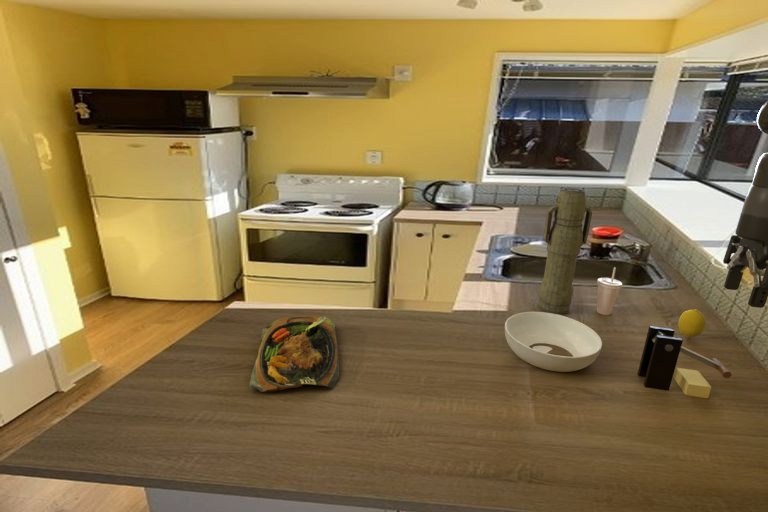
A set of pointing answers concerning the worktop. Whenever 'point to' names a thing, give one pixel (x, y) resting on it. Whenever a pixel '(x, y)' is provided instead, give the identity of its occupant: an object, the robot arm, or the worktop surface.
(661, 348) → the slicer
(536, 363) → the serving bowl
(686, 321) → the lemon
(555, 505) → the worktop surface
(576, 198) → the thermos
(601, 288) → the smoothie
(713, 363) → the lever
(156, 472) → the worktop surface
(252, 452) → the worktop surface
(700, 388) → the butter
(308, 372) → the prepared meal
